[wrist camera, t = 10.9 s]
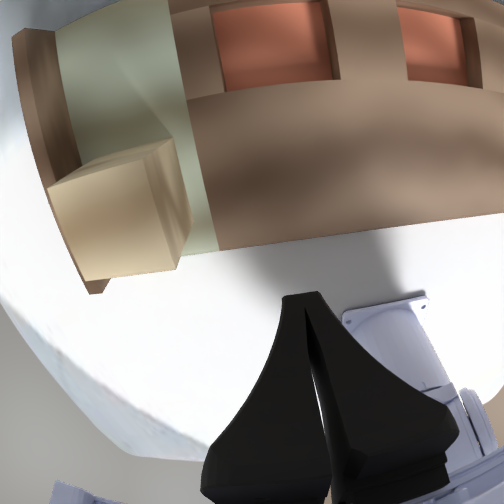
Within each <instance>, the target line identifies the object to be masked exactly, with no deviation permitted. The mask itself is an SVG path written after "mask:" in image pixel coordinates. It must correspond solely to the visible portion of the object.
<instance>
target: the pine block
mask: <svg viewBox="0 0 504 504" xmlns="http://www.w3.org/2000/svg"><path fill="white" fill-rule="evenodd" d="M47 190H48V193H49V196H50V199H51V202H52V204H53V207H54V210H55V213H56V215H57V218H58V220H59V223H60V225H61V228H62V230H63V233H64V235H65V238H66V240H67V242H68V245H69V247H70V249H71V252H72V254H73V256H74V258H75V260H76V263H77V265H78V267H79V269H80V271H81V273H82V275H83V277H84V279H85V281H92V280H100V279H108V278H115V277H123V276H131V275H139V274H146V273H154V272H162V271H169V270H176V268H177V265H178V262H179V260H180V257H181V254H182V251H183V249H184V246H185V243H186V240H187V238H188V235H189V232H190V230H191V227H192V225H193V222H194V220H193V216H192V212H191V208H190V204H189V200H188V196H187V192H186V188H185V184H184V180H183V176H182V172H181V168H180V164H179V159H178V155H177V151H176V146H175V142H174V138H173V137H172V138H167V139H163V140H159V141H155V142H151V143H147V144H144V145H140V146H136V147H133V148H129V149H125V150H122V151H119V152H115V153H112V154H109V155H105V156H102V157H99V158H96V159H93V160H92V161H90V162H88V163H87V164H85V165H83V166H82V167H80V168H78V169H77V170H75V171H73V172H72V173H70V174H69V175H67V176H65V177H64V178H62V179H61V180H59V181H58V182H56V183H54V184H53V185H51V186H50V187H48V188H47Z"/></svg>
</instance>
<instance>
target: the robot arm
mask: <svg viewBox="0 0 504 504" xmlns="http://www.w3.org/2000/svg"><path fill="white" fill-rule="evenodd" d="M428 303H429V299H428V297H427V296H420V297H416V298H411V299H406V300H402V301H397V302H392V303H387V304H382V305H376V306H371V307H366V308H360V309H355V310H349V311H346V312H344V314H343V316H342V323H341V322H340V321H339V320H338V318H337V317H336V316H335V314H334V313H333V312H332V310H331V309H330V308H329V306H328V305H327V303H326V302H325V300H324V299H323V297H322V295H321V294H320V293H319V292H318V291H314V292H308V293H301V294H294V295H286V296H284V297H283V298H282V309H281V316H280V321H279V325H278V329H277V332H276V336H275V339H274V342H273V345H272V348H271V351H270V353H269V356H268V359H267V361H266V363H265V366H264V368H263V370H262V372H261V374H260V376H259V378H258V380H257V382H256V384H255V386H254V387H253V389H252V391H251V393H250V394H249V396H248V398H247V399H246V401H245V403H244V404H243V405H242V407H241V408H240V410H239V411H238V413H237V414H236V415H235V417H234V418H233V420H232V421H231V422H230V424H229V425H228V426H227V427H226V429H225V430H224V431H223V432H222V433H221V434H220V436H219V437H218V438H217V439H216V440H215V441H214V443H213V444H212V445H211V446H210V448H209V450H208V453H207V456H206V459H205V462H204V465H203V470H202V476H201V488H200V491H201V493H202V494H203V495H204V496H205V497H207V498H208V499H210V500H211V501H212V502H214V503H215V504H324V500H325V497H327V495H328V491H329V488H330V485H331V497H332V504H504V446H502V447H501V448H499V449H498V444H497V440H496V437H495V434H494V431H493V429H492V426H491V424H490V421H489V419H488V416H487V414H486V412H485V409H484V407H483V405H482V403H481V401H480V399H479V397H478V396H477V394H476V392H475V391H474V390H470V389H467V388H463V389H461V390H460V391H459V393H460V396H461V398H462V400H463V405H464V407H465V410H466V412H467V414H468V416H467V415H466V412H465V410H464V408H463V405H462V403H461V401H460V399H459V397H458V394H457V392H456V390H455V388H454V386H453V384H452V382H450V380H449V378H448V376H447V374H446V372H445V370H444V368H443V366H442V364H441V362H440V360H439V358H438V356H437V354H436V352H435V350H434V348H433V346H432V344H431V342H430V340H429V338H428V336H427V335H426V333H425V331H424V329H423V327H422V326H423V322H424V319H425V315H426V311H427V307H428ZM348 320H350V321H348ZM311 371H312V372H311ZM312 375H313V377H312ZM313 379H314V382H315V386H316V390H317V394H318V398H319V401H320V406H321V411H322V417H323V424H324V429H323V424H322V420H321V415H320V410H319V406H318V401H317V396H316V391H315V387H314V382H313ZM324 431H325V433H324ZM478 442H479V445H480V447H479V445H478ZM49 504H126V503H121V502H117V501H113V500H109V499H105V498H101V497H97V496H94V495H93V494H92V493H90V492H88V491H86V490H84V489H82V488H79V487H76V486H73V485H70V484H67V483H64V482H61V481H58V480H56V481H55V484H54V487H53V491H52V495H51V500H50V503H49Z"/></svg>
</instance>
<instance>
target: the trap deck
mask: <svg viewBox="0 0 504 504" xmlns="http://www.w3.org/2000/svg"><path fill="white" fill-rule="evenodd" d="M12 47H13V57H14V65H15V72H16V79H17V85H18V91H19V96H20V102H21V107H22V111H23V116H24V121H25V125H26V129H27V133H28V137H29V141H30V145H31V148H32V152H33V155H34V159H35V162H36V166H37V169H38V172H39V175H40V178H41V181H42V184H43V187H44V190H45V193H46V196H47V199H48V202H49V204H50V207H51V210H52V212H53V215H54V218H55V220H56V223H57V225H58V228H59V230H60V233H61V235H62V237H63V240H64V242H65V244H66V247H67V249H68V251H69V253H70V256H71V258H72V260H73V262H74V264H75V267H76V269H77V271H78V273H79V275H80V277H81V279H82V281H83V283H84V285H85V287H86V289H87V291H88V293H89V294H99V293H103V291H104V289H105V287H106V286H107V284H108V282H109V281H110V279H111V278H108V279H100V280H92V281H85V279H84V277H83V275H82V273H81V271H80V269H79V267H78V265H77V263H76V260H75V258H74V256H73V254H72V252H71V249H70V247H69V245H68V242H67V240H66V238H65V235H64V233H63V230H62V228H61V225H60V223H59V220H58V218H57V215H56V213H55V210H54V207H53V204H52V202H51V199H50V196H49V193H48V190H47V188H48V187H50V186H51V185H53V184H54V183H56V182H58V181H59V180H61V179H62V178H64V177H65V176H67V175H69V174H70V173H72V172H73V171H75V170H77V169H78V168H80V167H82V166H83V165H85V164H87V163H88V162H90V161H92V160H93V159H96V158H99V157H102V156H105V155H109V154H112V153H115V152H119V151H122V150H125V149H129V148H133V147H136V146H140V145H144V144H147V143H151V142H155V141H159V140H163V139H167V138H172V137H173V138H174V142H175V146H176V151H177V155H178V159H179V164H180V168H181V172H182V176H183V180H184V184H185V188H186V192H187V196H188V200H189V204H190V208H191V212H192V216H193V220H194V222H193V225H192V227H191V230H190V232H189V235H188V238H187V240H186V243H185V246H184V249H183V251H182V254H181V256H188V255H195V254H202V253H209V252H216V251H223V250H230V249H237V248H245V247H252V246H259V245H266V244H273V243H280V242H287V241H295V240H302V239H309V238H316V237H324V236H331V235H338V234H346V233H353V232H360V231H368V230H375V229H383V228H390V227H398V226H405V225H413V224H420V223H428V222H435V221H443V220H451V219H458V218H466V217H474V216H481V215H489V214H497V213H504V5H502V4H500V3H498V2H495V1H493V0H120V1H118V2H115V3H113V4H110V5H108V6H106V7H103V8H101V9H99V10H97V11H94V12H92V13H90V14H88V15H86V16H84V17H82V18H80V19H78V20H76V21H74V22H72V23H70V24H68V25H66V26H64V27H62V28H60V29H58V30H57V31H55V32H54V31H46V30H38V29H28V28H24V29H22V30H21V31H20V32H18V33H17V34H15V35H14V36H13V37H12Z"/></svg>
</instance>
